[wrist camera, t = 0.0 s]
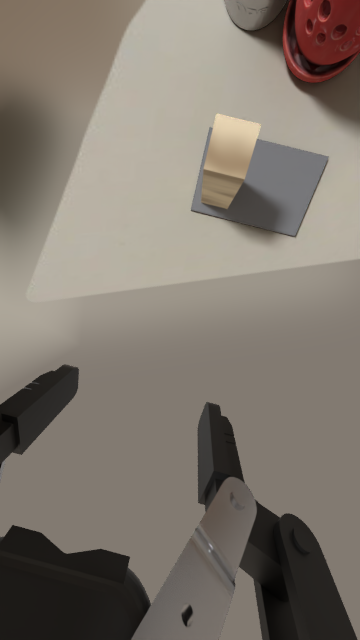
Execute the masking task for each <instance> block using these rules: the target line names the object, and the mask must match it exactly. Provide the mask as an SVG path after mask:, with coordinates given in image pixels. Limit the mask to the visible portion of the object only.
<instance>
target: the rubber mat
mask: <svg viewBox="0 0 360 640" xmlns="http://www.w3.org/2000/svg"><path fill="white" fill-rule="evenodd" d="M212 130H213V128H211V127H210V128H209V132H208V136H207V141H206V145H205V150H204V154H203V159H202V163H201V167H200V172H199V176H198V181H197V185H196V190H195V194H194V198H193V203H192V207H191V211H195V212H199V213H203V214H207V215H211V216H215V217H219V218H223V219H227V220H231V221H235V222H239V223H243V224H247V225H251V226H254V227H258V228H262V229H266V230H270V231H274V232H278V233H282V234H286V235H290V236H295V235H296V233H297V231H298V228H299V226H300V223H301V221H302V219H303V216H304V214H305V212H306V209H307V207H308V205H309V202H310V200H311V197H312V195H313V193H314V190H315V188H316V186H317V183H318V181H319V179H320V176H321V174H322V171H323V169H324V167H325V164H326V162H327V160H328V156H324V155H320V154H316V153H312V152H308V151H304V150H300V149H296V148H292V147H288V146H284V145H280V144H276V143H272V142H267V141H263V140H259V139H257V140H256V144H255V147H254V150H253V154H252V157H251V160H250V163H249V167H248V170H247V173H246V177H245V180H244V181H243V183H242V185H241V187H240V188H239V190H238V192H237V193H236V195H235V197H234V199H233V200H232V202H231V204H230V205H229V207H228V209H225V208H221V207H217V206H213V205H209V204H205V203H201V195H202V180H203V169H204V165H205V160H206V156H207V152H208V147H209V143H210V139H211V134H212Z"/></svg>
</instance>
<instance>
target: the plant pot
mask: <svg viewBox="0 0 360 640" xmlns="http://www.w3.org/2000/svg"><path fill="white" fill-rule="evenodd" d="M283 50H284V55H285V59H286V62H287V64H288V66H289V68H290V70H291V71H292V73H293V74H294V75H295V76H296V77H297V78H299V79H301V80H303V81H306V82H312V83H314V82H322V81H325V80H328V79H330V78H332V77H334V76H336V75H337V74H339V73H340V72H342V71H343V70H344V69H345V68H346V67H347V66H348V65H349V64H350V63H351V62H352V61H353V60H354V59H355V58H356V56H357V55H358V54H359V53H360V0H290V1H289V4H288V7H287V11H286V15H285V20H284V26H283Z"/></svg>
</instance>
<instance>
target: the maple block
mask: <svg viewBox="0 0 360 640" xmlns="http://www.w3.org/2000/svg"><path fill="white" fill-rule="evenodd" d="M260 127H261V124H258V123H254V122H250V121H245V120H241V119H237V118H233V117H229V116H225V115H221V114H217V113H216V117H215V121H214V126H213V130H212V134H211V139H210V143H209V147H208V152H207V156H206V160H205V165H204V169H203V180H202V195H201V203H205V204H209V205H213V206H217V207H221V208H225V209H228V207H229V205H230V204H231V202H232V200H233V199H234V197H235V195H236V193H237V192H238V190H239V188H240V187H241V185H242V183H243V181H244V180H245V177H246V173H247V170H248V167H249V163H250V160H251V157H252V154H253V150H254V147H255V144H256V140H257V137H258V134H259V130H260Z"/></svg>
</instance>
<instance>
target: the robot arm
mask: <svg viewBox="0 0 360 640" xmlns="http://www.w3.org/2000/svg"><path fill="white" fill-rule="evenodd" d="M286 1H287V0H225V4H226V8H227V11H228V13H229V15H230V17H231V19H232V20H233V21H234V23H235V24H237V25H238V26H239V27H241V28H243V29H245V30H257V29H261V28H262V27H264V26H266V25H268V24H269V23H270V22H271V21H273V20H274V19H275V18H276V16H277V15H278V14H279V13H280V11H281V10H282V8H283V6H284V5H285V3H286ZM78 374H79V369H78V368H77V367H73V366H69V365H62V366H61V367H60V368H59V369H57V370H56V371H50V372H47V373H45V374H43V375H41V376H39V377H38V378H36V379H35V380H34V381H32V383H30V384H28V385H27V386H25V388H24V389H21V390H20V391H18V392H17V393H16V394H14V395H13V396H12V397H10V398H9V399H7V400H6V401H5V402H3V403H2V404H1V405H0V481H1V477H2V473H3V469H4V465H5V459H6V458H7V457H8V456H9V455H10V454H11V453H12V452H13V453H17V454H21V455H22V454H23V452H24V451H25V450H26V449H27V448H28V447H29V446H30V445H31V444H32V442H33V441H34V440H35V439H36V438H37V437H38V436H39V435H40V434H41V433H42V432H43V430H44V429H45V428H46V427H47V426H48V425H49V424H50V423H51V422H52V420H53V419H54V418H55V417H56V416H57V415H58V414H59V413H60V412H61V411H62V410H63V408H64V407H65V406H66V405H67V404H68V403H69V402H70V400H72V398H73V397H74V396H75V394H76V392H77V389H78ZM198 503H200V504H204V505H205V511H206V513H205V515H204V516H203V518H202V520H201V521H200V523H199V525H198V527H197V528H196V529H195V531H194V533H193V534H192V536H191V538H190V539H189V541H188V543H187V544H186V546H185V548H184V550H183V551H182V553H181V555H180V556H179V558H178V560H177V562H176V563H175V565H174V567H173V569H172V570H171V572H170V574H169V575H168V577H167V579H166V581H165V582H164V584H163V586H162V587H161V589H160V591H159V593H158V594H157V596H156V598H155V599H154V601H153V603H152V605H151V603H150V600H149V598H148V595H147V593H146V591H145V589H144V587H143V585H142V583H141V582H140V580H139V579H138V577H137V576H136V575H135V574H134V573H133V572H132V571H131V570H130V569H129V568H128V563H129V559H130V557H129V556H125V555H121V554H117V553H113V552H110V551H107V550H103V549H98V550H91V551H84V552H77V553H71V554H66V553H63V552H62V551H61V550H60V549H59V548H58V547H57V546H55V545H54V544H53V543H52V542H51V541H50V540H49V539H47V538H46V537H45V536H44V535H43V534H42V533H40V532H36V531H33V530H29V529H25V528H22V527H18V526H14V525H12V527H11V528H10V530H9V531H8V532H7V534H6V535H5V537H0V640H219V637H220V635H221V631H222V628H223V625H224V622H225V619H226V616H227V613H228V610H229V607H230V604H231V601H232V597H233V594H234V590H235V583H234V581H235V576H236V573H237V570H238V567H240V568H241V569H243V570H244V571H245V572H246V573H248V574H249V575H250V576H251V577H252V578H253V579H254V585H255V592H256V598H257V606H258V612H259V619H260V625H261V632H262V639H263V640H357V637H356V635H355V632H354V630H353V627H352V625H351V622H350V620H349V617H348V615H347V612H346V610H345V607H344V605H343V602H342V600H341V598H340V595H339V593H338V590H337V587H336V585H335V583H334V580H333V578H332V575H331V573H330V570H329V568H328V565H327V563H326V560H325V558H324V555H323V553H322V550H321V548H320V545H319V543H318V542H317V539H316V538H315V536H314V535H313V533H312V532H311V530H310V529H309V528H308V527H307V525H306V524H305V523H304V522H303V521H302V520H300V519H299V518H298V517H296V516H294V515H292V514H284V515H283V516H282V517H281V518H280V517H278V516H277V515H275V514H274V513H272V512H271V511H269V510H268V509H266V508H265V507H263V506H262V505H261V504H259V503H258V502H257V501H256V500H255V499H254V496H253V494H252V492H251V491H250V489H249V488H248V486H247V485H246V484H245V482H244V479H243V474H242V470H241V466H240V461H239V456H238V451H237V447H236V442H235V438H234V434H233V429H232V425H231V424H230V422H229V420H228V418H227V417H224V416H221V411H220V406H219V405H216V404H213V403H209V402H206V404H205V407H204V409H203V412H202V415H201V418H200V420H199V424H198Z"/></svg>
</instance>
